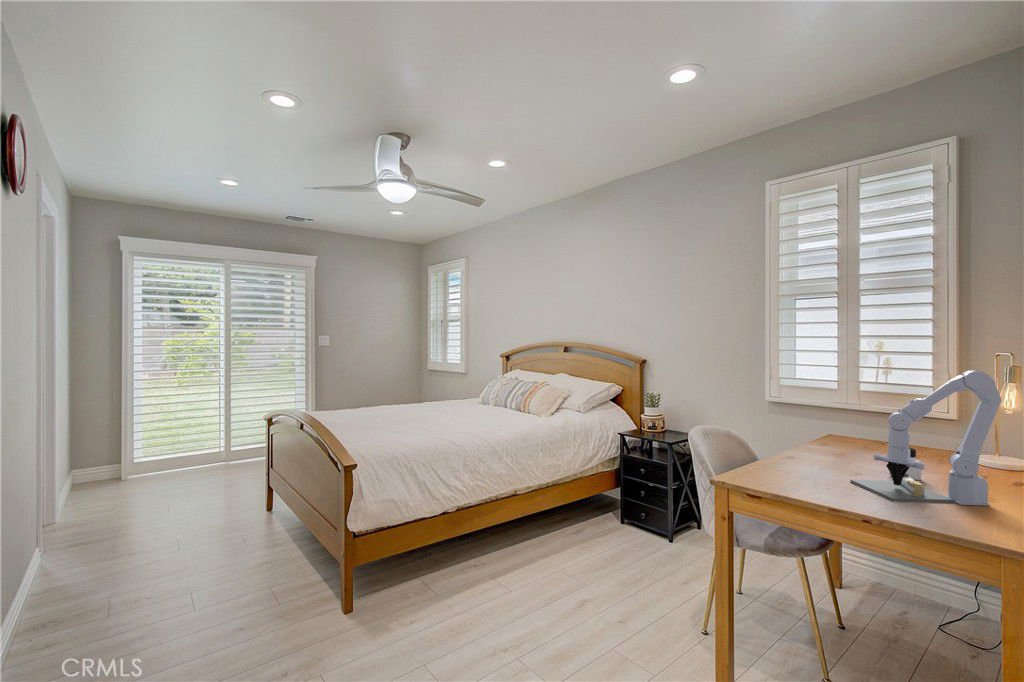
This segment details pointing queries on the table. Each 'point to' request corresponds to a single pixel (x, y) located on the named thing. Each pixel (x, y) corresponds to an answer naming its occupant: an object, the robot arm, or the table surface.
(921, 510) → the table surface
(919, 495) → the keeper
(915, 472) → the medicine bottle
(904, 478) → the link
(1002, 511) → the table surface
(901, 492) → the board
